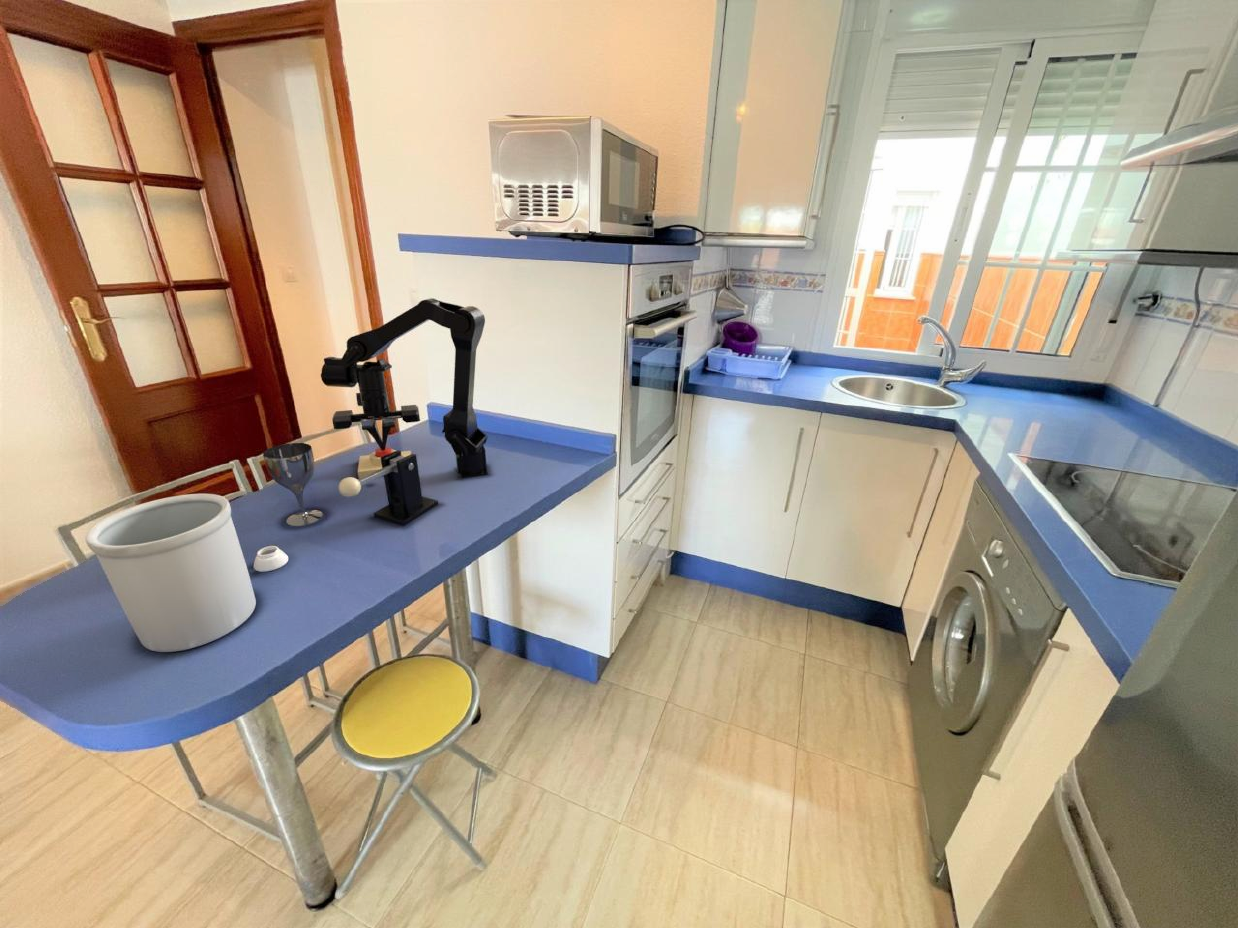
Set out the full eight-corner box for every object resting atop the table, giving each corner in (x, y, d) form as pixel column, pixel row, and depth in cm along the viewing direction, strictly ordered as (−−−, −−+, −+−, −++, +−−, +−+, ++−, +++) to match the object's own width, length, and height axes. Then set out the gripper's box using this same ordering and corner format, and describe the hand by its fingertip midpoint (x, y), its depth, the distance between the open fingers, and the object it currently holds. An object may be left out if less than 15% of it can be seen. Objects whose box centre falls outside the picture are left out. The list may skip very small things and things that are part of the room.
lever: (350, 501, 90) (347, 483, 88) (335, 497, 91) (332, 479, 90) (412, 471, 103) (410, 455, 101) (399, 468, 104) (396, 452, 103)
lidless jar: (273, 554, 90) (247, 570, 86) (269, 540, 89) (242, 555, 85) (295, 559, 89) (271, 575, 85) (291, 545, 88) (266, 561, 84)
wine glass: (336, 514, 104) (320, 447, 98) (299, 532, 97) (280, 461, 91) (310, 505, 107) (293, 440, 101) (273, 522, 100) (253, 453, 94)
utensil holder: (127, 619, 74) (80, 516, 67) (246, 576, 85) (215, 483, 77) (142, 673, 65) (89, 562, 58) (273, 618, 75) (241, 517, 68)
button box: (411, 456, 132) (409, 444, 131) (412, 471, 124) (410, 458, 123) (360, 462, 128) (358, 449, 127) (358, 478, 120) (356, 464, 118)
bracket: (404, 526, 100) (394, 468, 95) (374, 518, 103) (363, 461, 98) (438, 505, 109) (431, 450, 104) (409, 497, 112) (401, 444, 106)
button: (392, 452, 127) (391, 446, 126) (392, 457, 124) (391, 451, 123) (376, 454, 126) (375, 447, 125) (376, 459, 123) (375, 453, 122)
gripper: (413, 377, 128) (421, 434, 134) (331, 382, 121) (343, 442, 127) (415, 388, 118) (424, 449, 125) (326, 394, 112) (340, 458, 118)
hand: (383, 449), depth 124 cm, fingers closed, pressing on button
